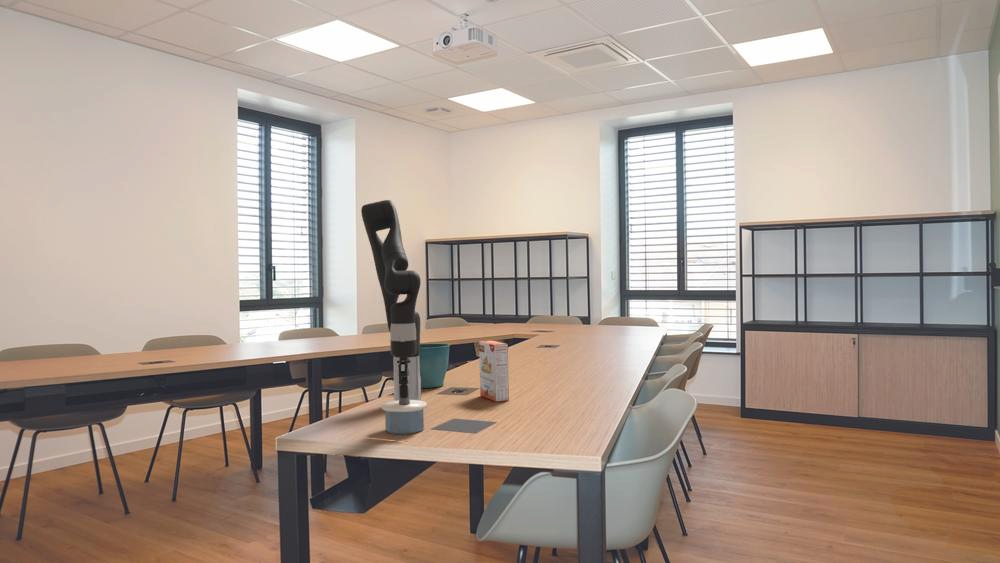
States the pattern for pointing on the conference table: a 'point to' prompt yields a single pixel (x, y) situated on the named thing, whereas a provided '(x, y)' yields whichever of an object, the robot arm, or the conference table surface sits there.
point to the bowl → (404, 422)
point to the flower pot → (433, 364)
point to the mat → (464, 425)
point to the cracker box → (494, 370)
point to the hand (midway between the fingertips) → (404, 395)
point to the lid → (404, 404)
